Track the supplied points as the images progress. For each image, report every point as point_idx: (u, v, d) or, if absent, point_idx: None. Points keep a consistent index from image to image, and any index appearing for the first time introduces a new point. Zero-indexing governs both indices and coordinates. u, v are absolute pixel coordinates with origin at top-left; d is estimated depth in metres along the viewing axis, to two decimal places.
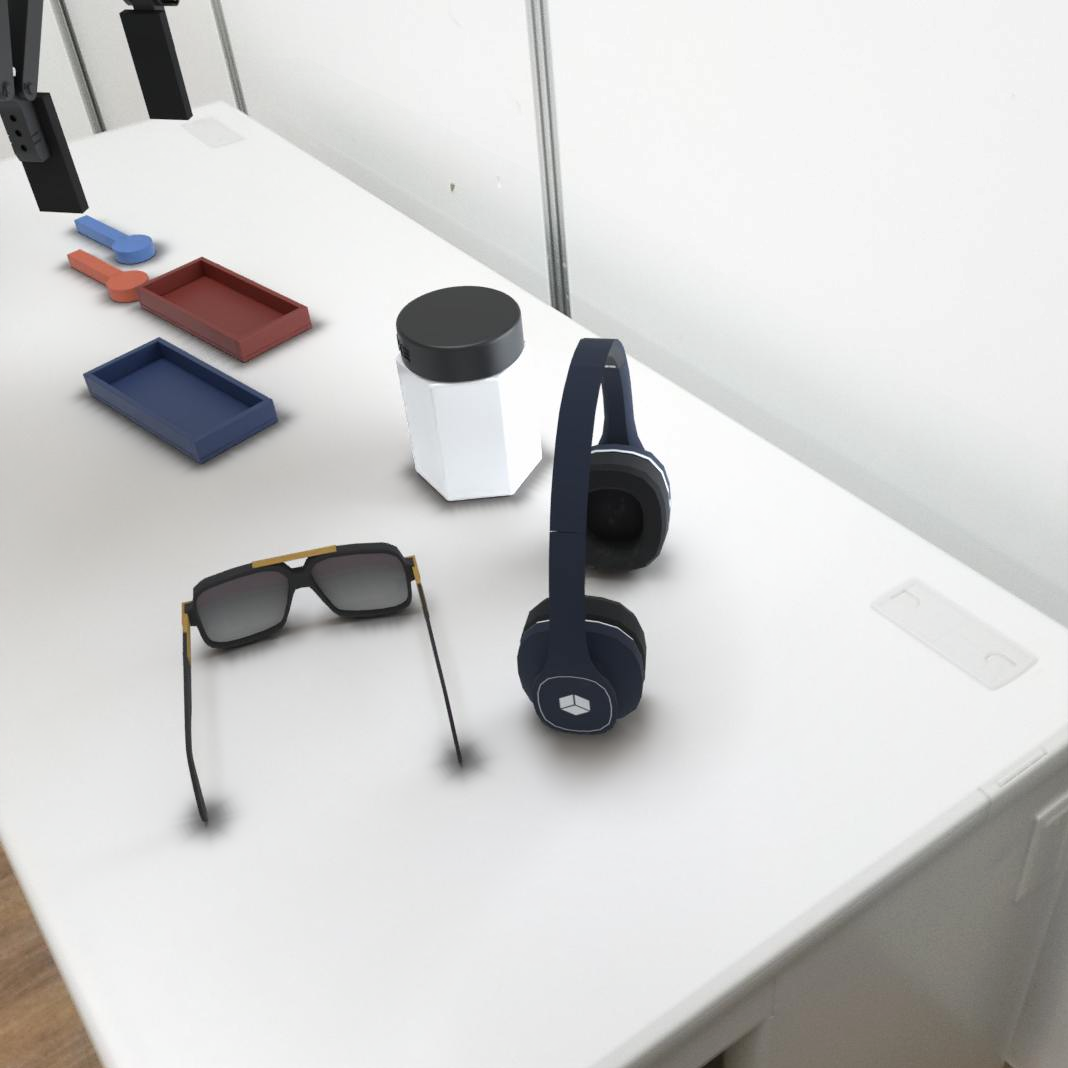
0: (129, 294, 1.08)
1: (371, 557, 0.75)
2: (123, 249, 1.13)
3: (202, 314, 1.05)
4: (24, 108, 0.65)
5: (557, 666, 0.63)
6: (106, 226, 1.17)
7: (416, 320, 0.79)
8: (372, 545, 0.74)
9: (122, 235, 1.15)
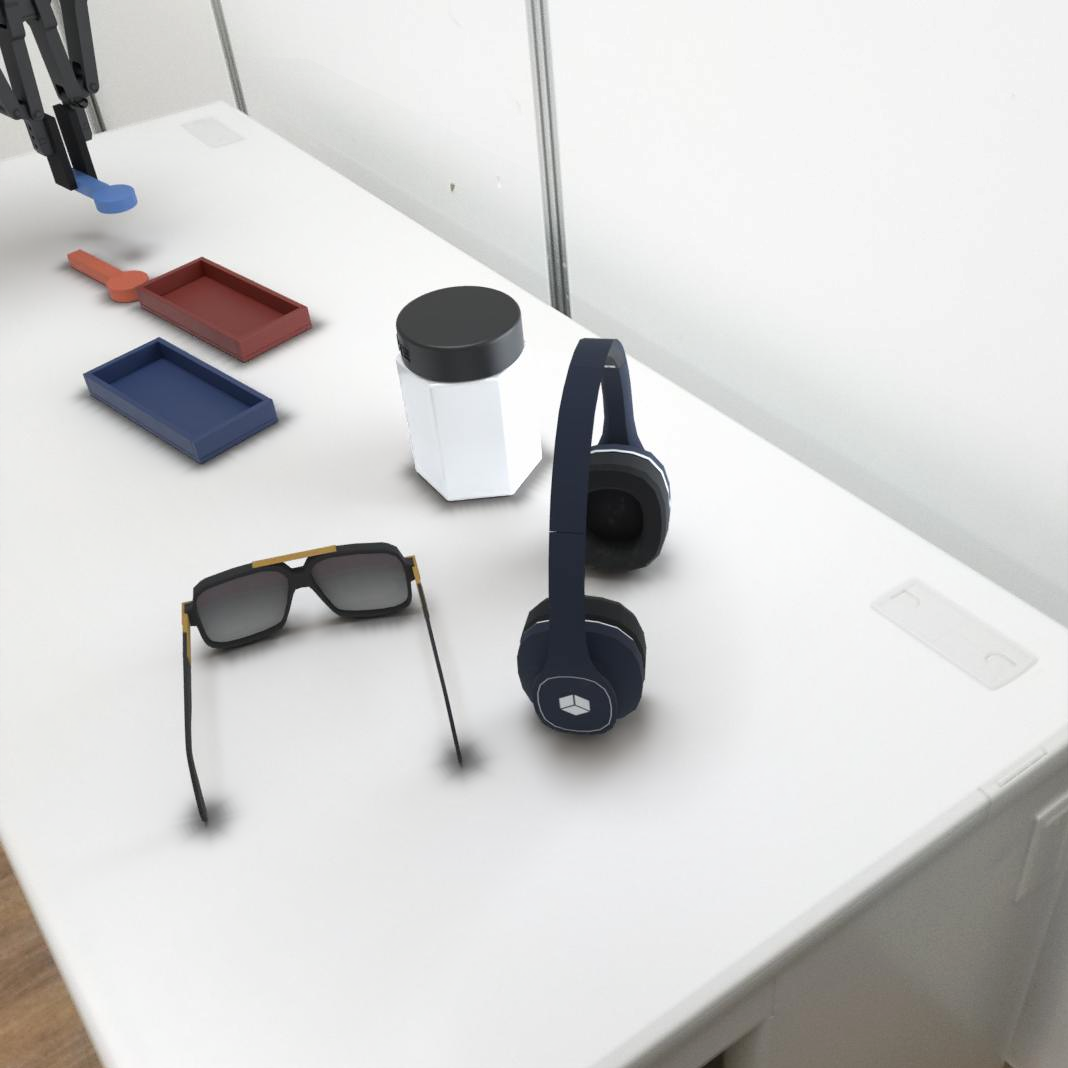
0: (129, 294, 1.08)
1: (371, 557, 0.75)
2: (104, 198, 1.10)
3: (202, 314, 1.05)
4: (35, 124, 1.09)
5: (557, 666, 0.63)
6: (87, 176, 1.14)
7: (416, 320, 0.79)
8: (372, 545, 0.74)
9: (104, 185, 1.12)
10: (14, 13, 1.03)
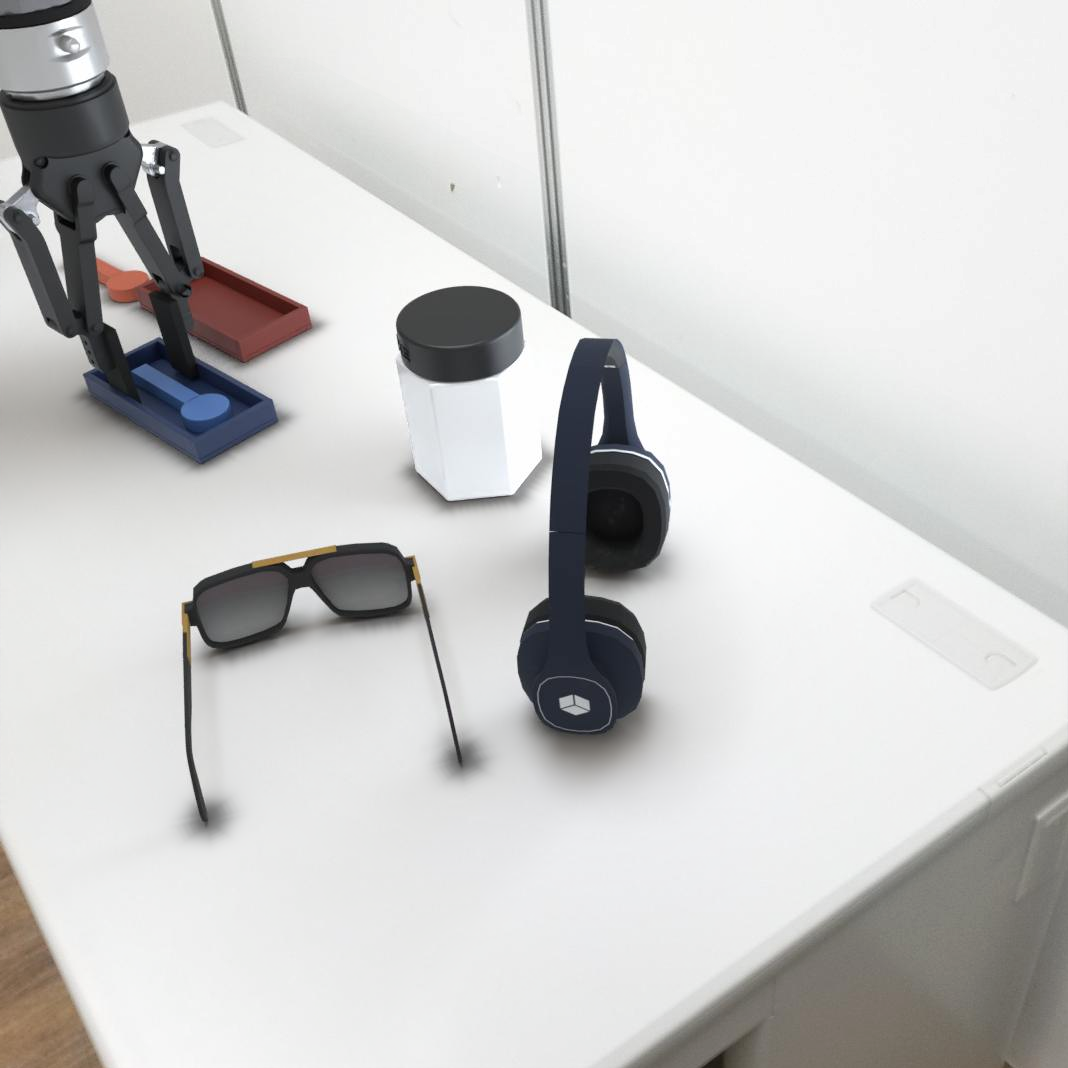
0: (129, 294, 1.08)
1: (371, 557, 0.75)
2: (194, 415, 0.91)
3: (202, 314, 1.05)
4: (92, 338, 0.90)
5: (557, 666, 0.63)
6: (171, 381, 0.95)
7: (416, 320, 0.79)
8: (372, 545, 0.74)
9: (192, 394, 0.93)
10: (87, 213, 0.84)
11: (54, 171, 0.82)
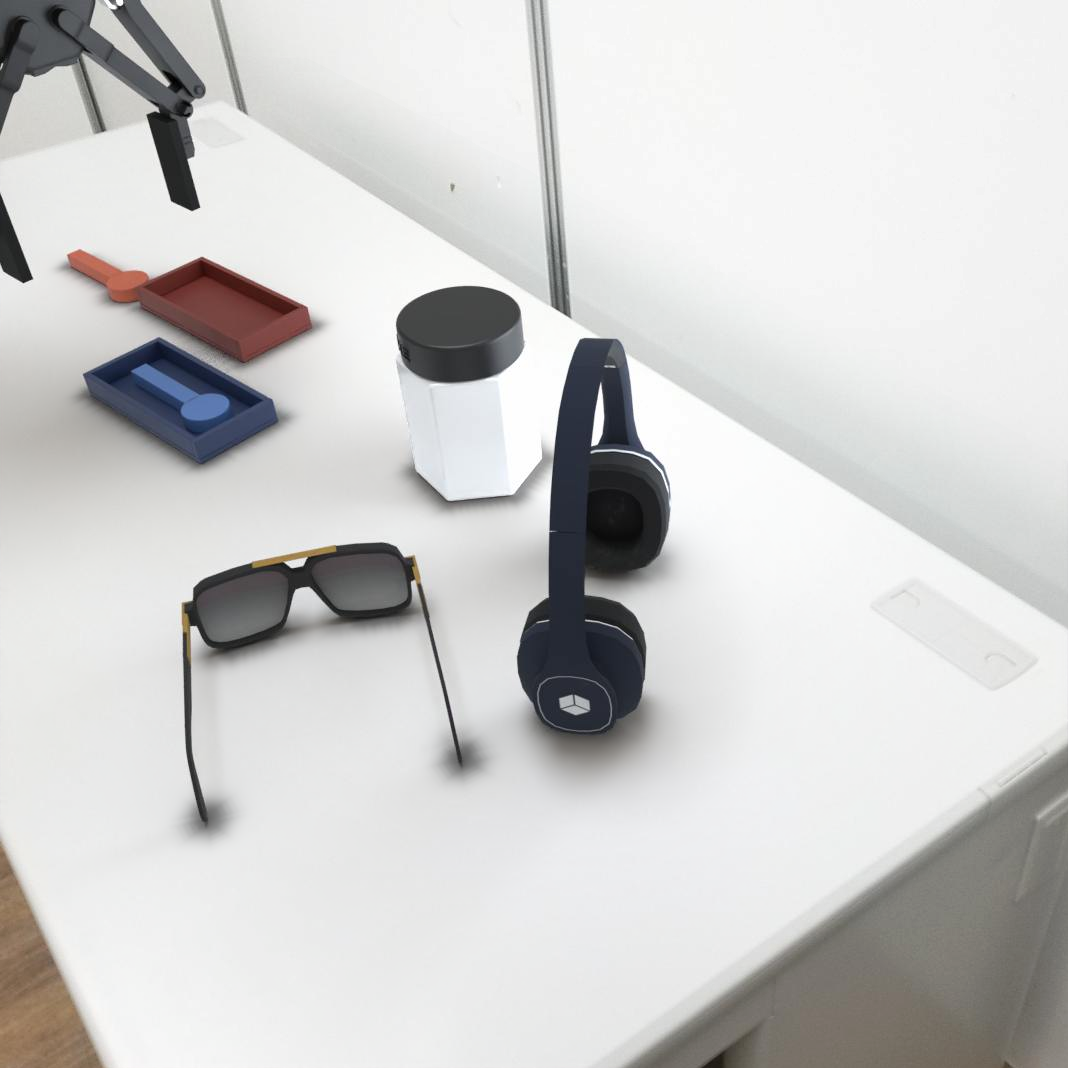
0: (129, 294, 1.08)
1: (371, 557, 0.75)
2: (194, 415, 0.91)
3: (202, 314, 1.05)
4: None
5: (557, 666, 0.63)
6: (171, 381, 0.95)
7: (416, 320, 0.79)
8: (372, 545, 0.74)
9: (192, 394, 0.93)
10: (21, 59, 0.77)
11: (2, 14, 0.76)
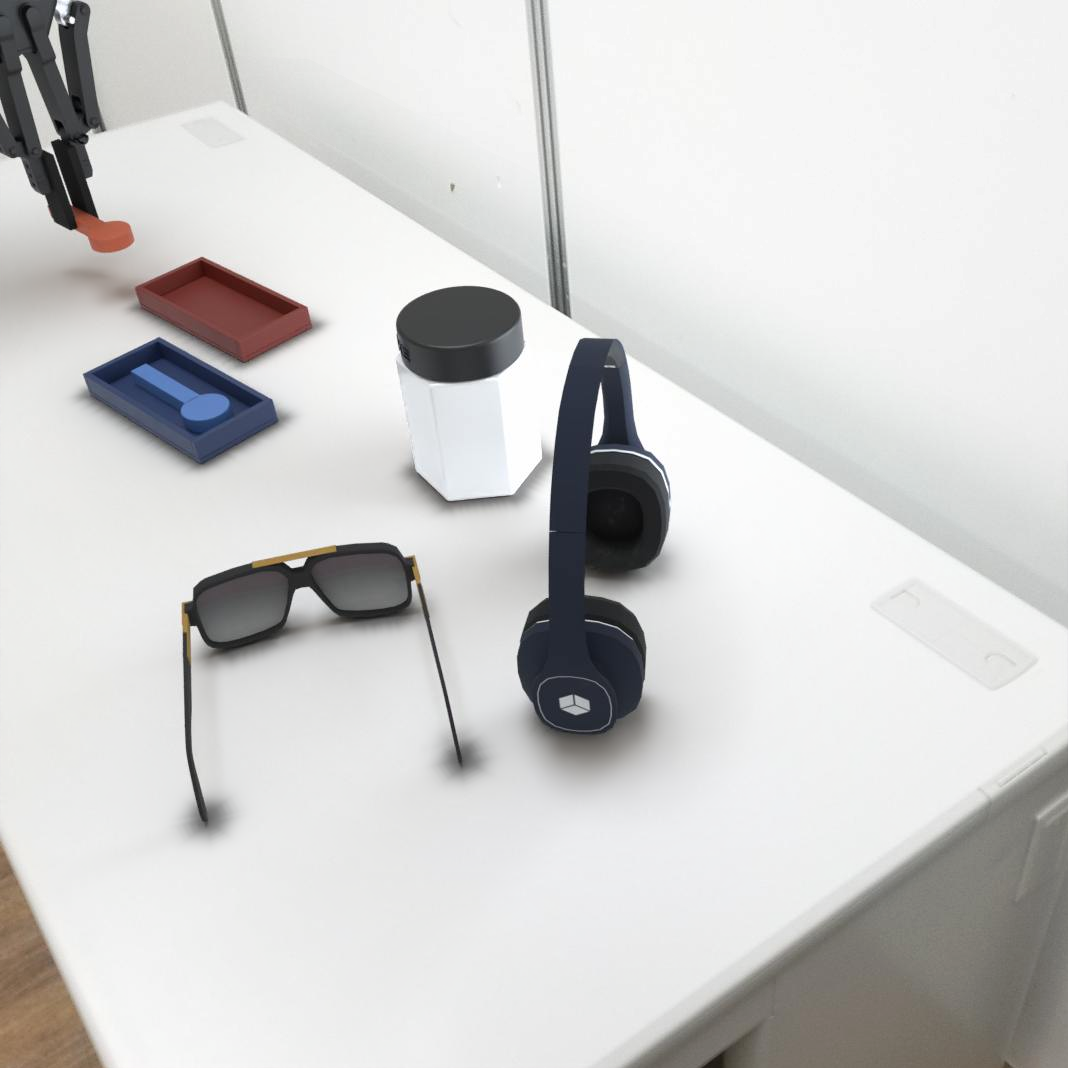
0: (111, 244, 1.05)
1: (371, 557, 0.75)
2: (194, 415, 0.91)
3: (202, 314, 1.05)
4: (32, 162, 1.03)
5: (557, 666, 0.63)
6: (171, 381, 0.95)
7: (416, 320, 0.79)
8: (372, 545, 0.74)
9: (192, 394, 0.93)
10: (10, 47, 0.97)
11: None
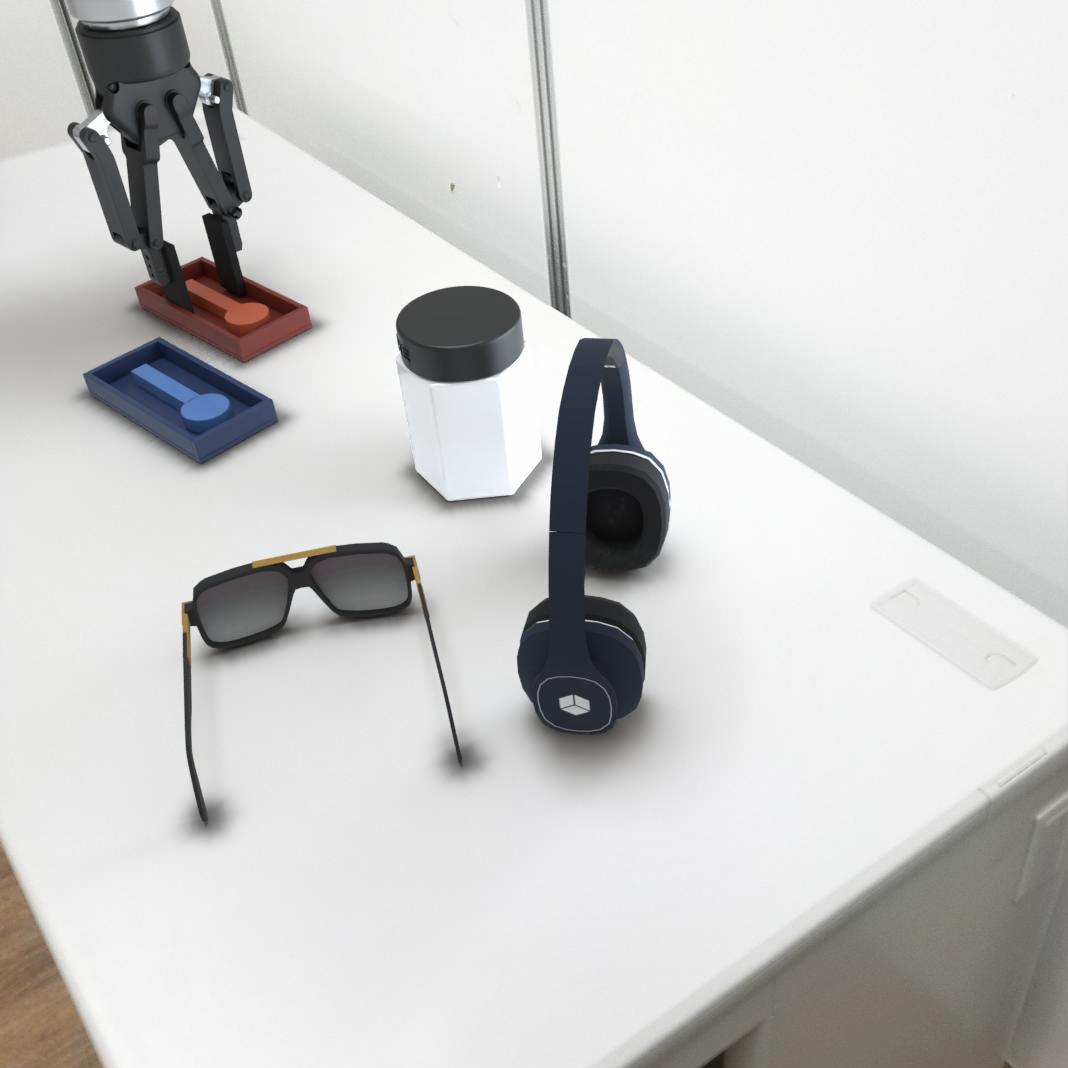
0: (250, 328, 1.01)
1: (371, 557, 0.75)
2: (194, 415, 0.91)
3: (202, 314, 1.05)
4: (153, 253, 0.99)
5: (557, 666, 0.63)
6: (171, 381, 0.95)
7: (416, 320, 0.79)
8: (372, 545, 0.74)
9: (192, 394, 0.93)
10: (152, 136, 0.94)
11: (124, 96, 0.92)
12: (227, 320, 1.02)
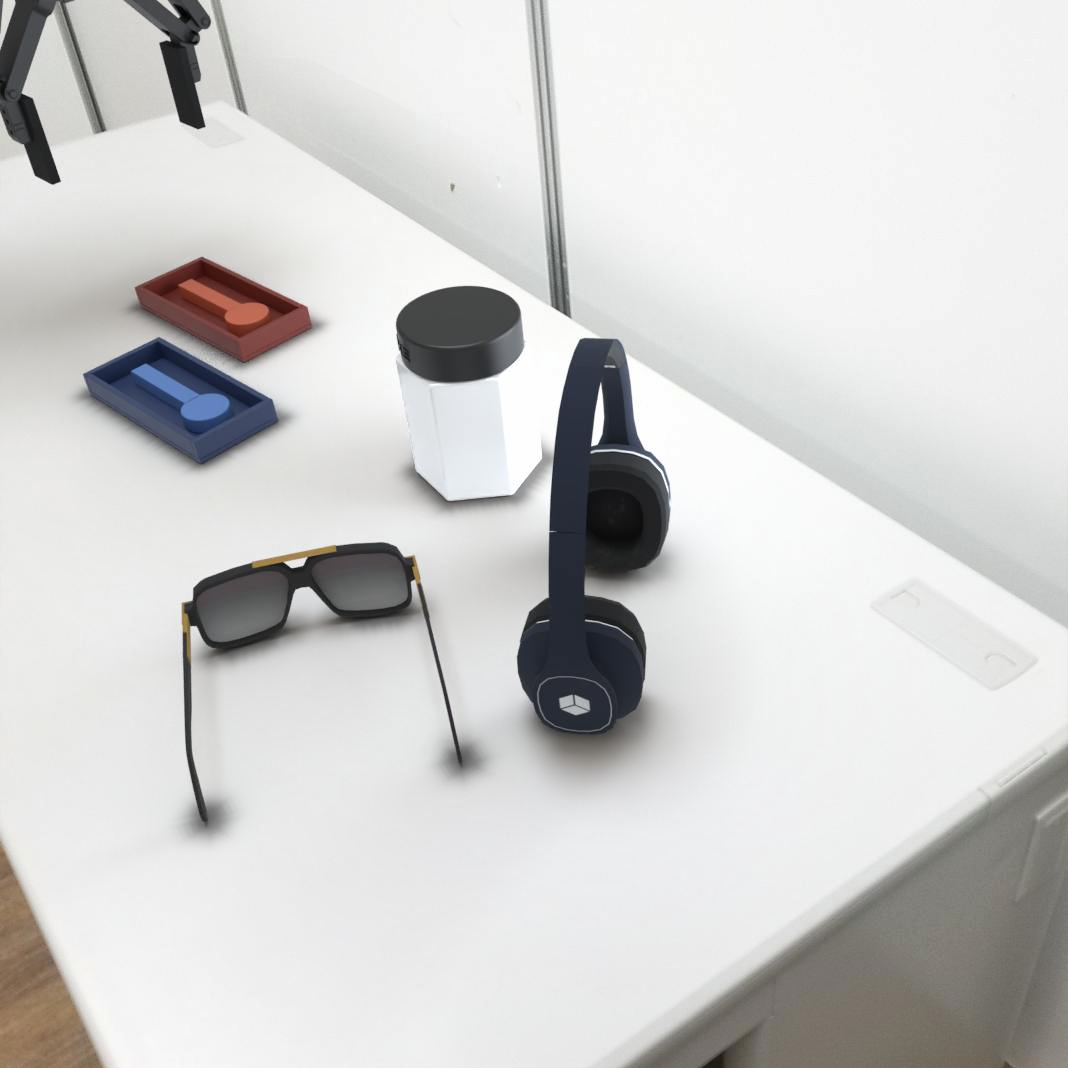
0: (250, 328, 1.01)
1: (371, 557, 0.75)
2: (194, 415, 0.91)
3: (202, 314, 1.05)
4: (9, 106, 0.93)
5: (557, 666, 0.63)
6: (171, 381, 0.95)
7: (416, 320, 0.79)
8: (372, 545, 0.74)
9: (192, 394, 0.93)
10: None
11: None
12: (227, 320, 1.02)
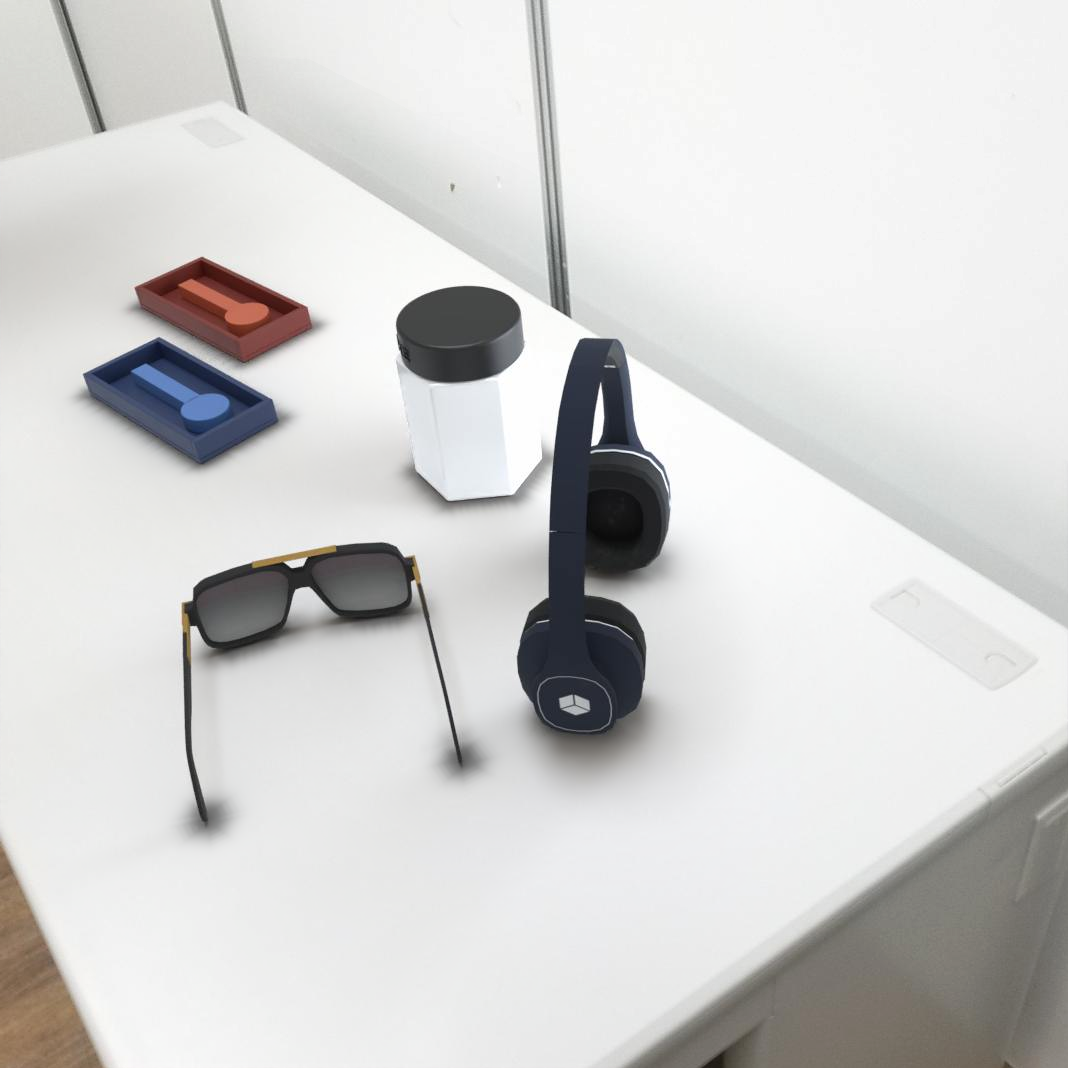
0: (250, 328, 1.01)
1: (371, 557, 0.75)
2: (194, 415, 0.91)
3: (202, 314, 1.05)
4: None
5: (557, 666, 0.63)
6: (171, 381, 0.95)
7: (416, 320, 0.79)
8: (372, 545, 0.74)
9: (192, 394, 0.93)
10: None
11: None
12: (227, 320, 1.02)
